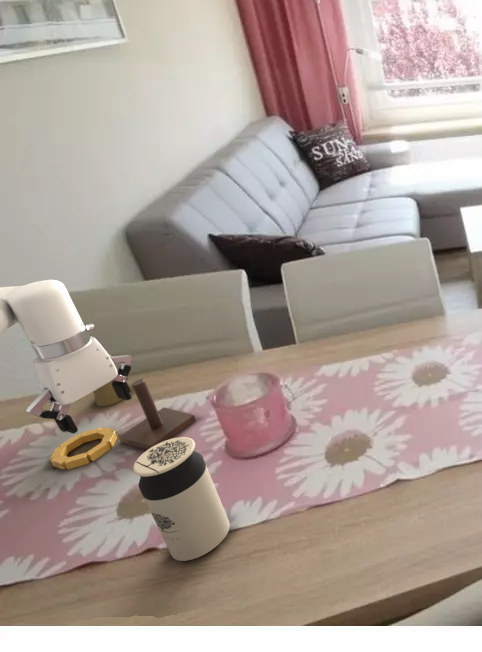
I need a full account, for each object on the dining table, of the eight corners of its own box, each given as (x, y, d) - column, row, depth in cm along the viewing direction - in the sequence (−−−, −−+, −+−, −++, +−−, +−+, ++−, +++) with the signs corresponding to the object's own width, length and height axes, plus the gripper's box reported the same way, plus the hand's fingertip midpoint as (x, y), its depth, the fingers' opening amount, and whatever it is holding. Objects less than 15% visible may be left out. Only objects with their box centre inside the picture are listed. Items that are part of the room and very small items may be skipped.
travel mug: (215, 510, 92) (181, 428, 85) (240, 530, 88) (206, 446, 82) (162, 547, 86) (120, 462, 79) (186, 571, 82) (144, 484, 75)
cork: (98, 410, 118) (78, 368, 114) (94, 398, 122) (75, 358, 118) (132, 396, 122) (114, 355, 118) (128, 385, 126) (110, 345, 122)
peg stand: (152, 451, 106) (129, 400, 101) (121, 442, 108) (97, 392, 104) (196, 420, 113) (176, 372, 109) (166, 412, 116) (145, 365, 111)
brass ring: (74, 473, 101) (71, 467, 100) (43, 463, 104) (39, 457, 103) (127, 438, 109) (124, 432, 109) (96, 430, 112) (93, 424, 111)
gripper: (100, 316, 110) (132, 384, 117) (-9, 368, 95) (35, 441, 101) (125, 321, 108) (156, 389, 114) (17, 374, 93) (60, 449, 99)
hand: (99, 414), depth 108 cm, fingers open, 9 cm apart
